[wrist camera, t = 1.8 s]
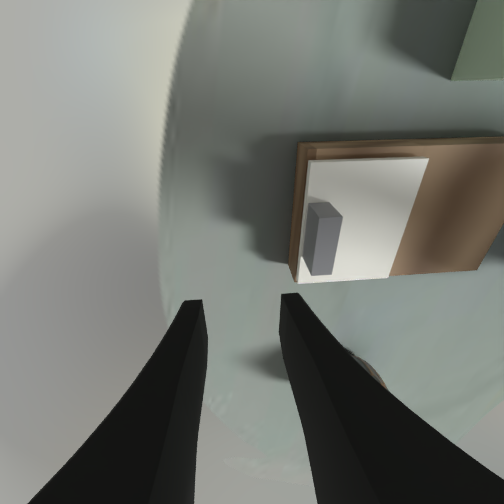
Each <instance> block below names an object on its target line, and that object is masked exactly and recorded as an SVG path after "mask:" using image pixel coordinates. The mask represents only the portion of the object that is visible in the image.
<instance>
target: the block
mask: <svg viewBox="0 0 504 504" xmlns="http://www.w3.org/2000/svg"><path fill="white" fill-rule="evenodd" d="M468 80H504V0H477V3H476V6H475V9H474V12H473V15H472V18H471V21H470V24H469V27H468V30H467V33H466V36H465V39H464V42H463V45H462V48H461V51H460V54H459V57H458V60H457V63H456V66H455V69H454V72H453V75H452V78H451V81H468Z"/></svg>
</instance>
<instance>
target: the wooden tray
mask: <svg viewBox="0 0 504 504" xmlns="http://www.w3.org/2000/svg"><path fill="white" fill-rule="evenodd" d="M393 157H426V158H429V161H428V164H427V166H426V169H425V172H424V175H423V178H422V181H421V184H420V187H419V190H418V192H417V195H416V198H415V201H414V204H413V207H412V210H411V213H410V216H409V219H408V221H407V224H406V227H405V230H404V233H403V236H402V239H401V242H400V245H399V247H398V250H397V253H396V256H395V259H394V262H393V265H392V268H391V271H390V273H389V276H396V275H411V274H426V273H441V272H456V271H471V270H477V269H478V267H479V266H480V264H481V262H482V260H483V259H484V257H485V255H486V253H487V252H488V250H489V248H490V246H491V245H492V243H493V241H494V239H495V238H496V236H497V234H498V232H499V231H500V229H501V227H502V225H503V224H504V136H502V137H466V138H429V139H393V140H357V141H320V142H298V146H297V159H296V171H295V184H294V197H293V209H292V222H291V235H290V247H289V260H288V266H289V268H290V271H291V274H292V277H293V279H294V282H297V280H296V275H297V265H298V256H299V246H300V236H301V227H302V217H303V207H304V198H305V188H306V178H307V168H308V160H332V159H363V158H393Z"/></svg>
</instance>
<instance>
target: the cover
mask: <svg viewBox="0 0 504 504" xmlns="http://www.w3.org/2000/svg"><path fill="white" fill-rule="evenodd" d="M428 161H429V158H426V157H393V158H363V159H332V160H308V168H307V178H306V188H305V198H304V207H303V217H302V227H301V236H300V246H299V256H298V265H297V275H296V280H297V283H298V284H303V283H318V282H333V281H348V280H363V279H378V278H388V276H389V273H390V271H391V268H392V265H393V262H394V259H395V256H396V253H397V250H398V247H399V245H400V242H401V239H402V236H403V233H404V230H405V227H406V224H407V221H408V219H409V216H410V213H411V210H412V207H413V204H414V201H415V198H416V195H417V192H418V190H419V187H420V184H421V181H422V178H423V175H424V172H425V169H426V166H427V164H428Z"/></svg>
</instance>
